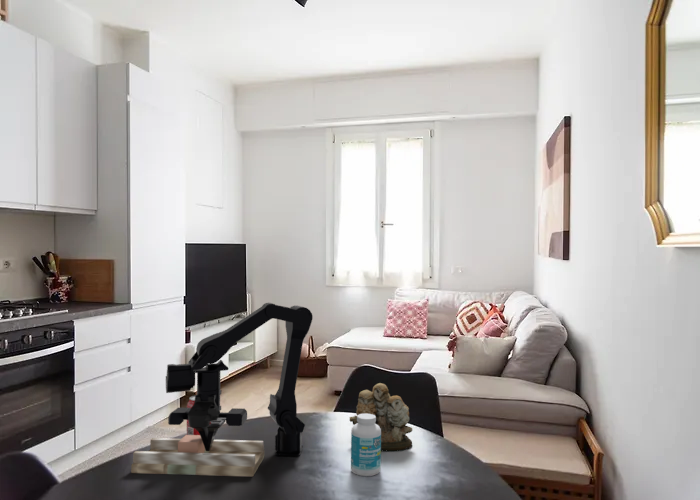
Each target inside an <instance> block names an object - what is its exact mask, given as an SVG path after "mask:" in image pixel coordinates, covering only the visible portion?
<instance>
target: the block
mask: <svg viewBox="0 0 700 500" xmlns="http://www.w3.org/2000/svg"><path fill="white" fill-rule="evenodd" d="M180 439H181V440H180V441H179V442H178V452H187V453H204V444H203V441H202V439H201V436H200V435H187V434H185V435H184V436H183V437H182V438H180Z"/></svg>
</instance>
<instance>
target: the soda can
mask: <svg viewBox="0 0 700 500" xmlns="http://www.w3.org/2000/svg"><path fill="white" fill-rule="evenodd" d="M194 402H195V395H191V396H190V397H189V401H187V405H186V408H192V406H193V405H194ZM210 424H211V422H210ZM186 435H200V434H199V432H198V431H197V430H196V429H195V428H191V427H190V426H189V421H188V420H186Z"/></svg>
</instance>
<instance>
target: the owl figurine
mask: <svg viewBox="0 0 700 500" xmlns="http://www.w3.org/2000/svg"><path fill="white" fill-rule="evenodd" d="M357 401H358V402H357V405H356V412H355V413H356V414H355V415H354V416H349V421H350V423H351V422H352V426H354V425H355V424H356V423H358V422H357V415H359V414H364V413H367V414H373V415H375V416H376V422H375V424H377V425H378V426H379V427H380V428H381V452H384V453H385V452H386V453H387V452H389V453H390V452H391V453H392V452H401V451H406V449H407V450H408V449H411V447H413V446H412V445H413V441H412V439H410V438H409V436H407V435H408V434H410V433H412V432H413V427H412V426H408V425H407V424H408V423H409V421H410V411H409V410H410V408H409V406H407V404H405V402H404V401H403V399H402V397H401V396H399V395H397V394H396V395H392V396H391V394H390V393H389V389H388V386H387V385H386V384H385V383H381V382H379V383H376V384H375V385H374V386H373V387H372V390H369V389H364V390H362V391H360V392H359V394H358V399H357Z"/></svg>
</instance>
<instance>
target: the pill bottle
mask: <svg viewBox="0 0 700 500" xmlns="http://www.w3.org/2000/svg"><path fill="white" fill-rule="evenodd" d="M356 416H357V422H358V423H356V424H355V425H352V427H351V432H350V433H351V434H350V435H351V436H350V437H351V438H350V470H351V472H352V473H354V474H355V475H357V476H361V477H372V476H376V475H377V474H379V473H380V471H381V466H382V465H381V461H382V459H381V458H382V456H381V455H382V451H381V428H380V427H379V426H378V425H377V424H375V422H376V416H375V415H373V414H367V413H364V414H359V415H357V414H356Z"/></svg>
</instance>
